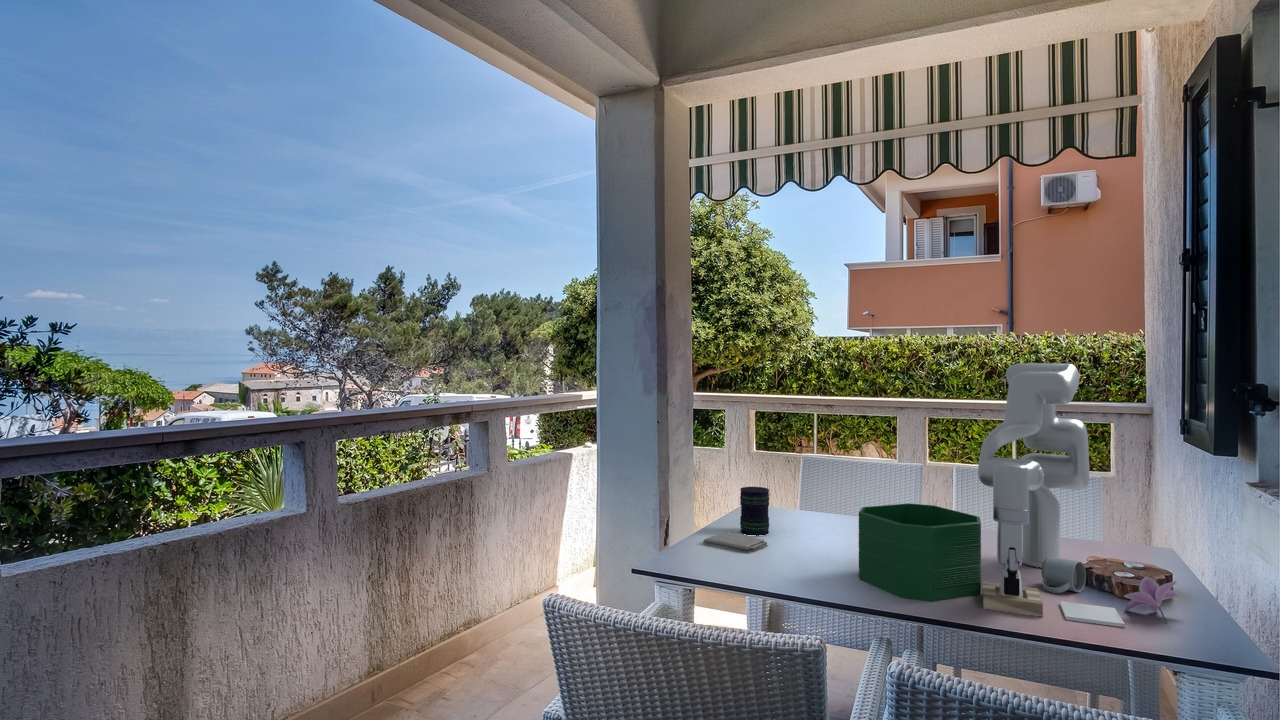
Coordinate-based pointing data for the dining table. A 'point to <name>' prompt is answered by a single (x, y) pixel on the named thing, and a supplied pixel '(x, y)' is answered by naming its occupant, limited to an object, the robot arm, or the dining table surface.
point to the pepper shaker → (1003, 584)
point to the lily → (1151, 595)
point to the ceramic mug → (1063, 575)
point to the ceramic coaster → (1091, 614)
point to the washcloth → (736, 542)
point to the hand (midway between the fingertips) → (1011, 591)
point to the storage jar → (754, 511)
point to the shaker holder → (1012, 600)
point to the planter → (920, 551)
